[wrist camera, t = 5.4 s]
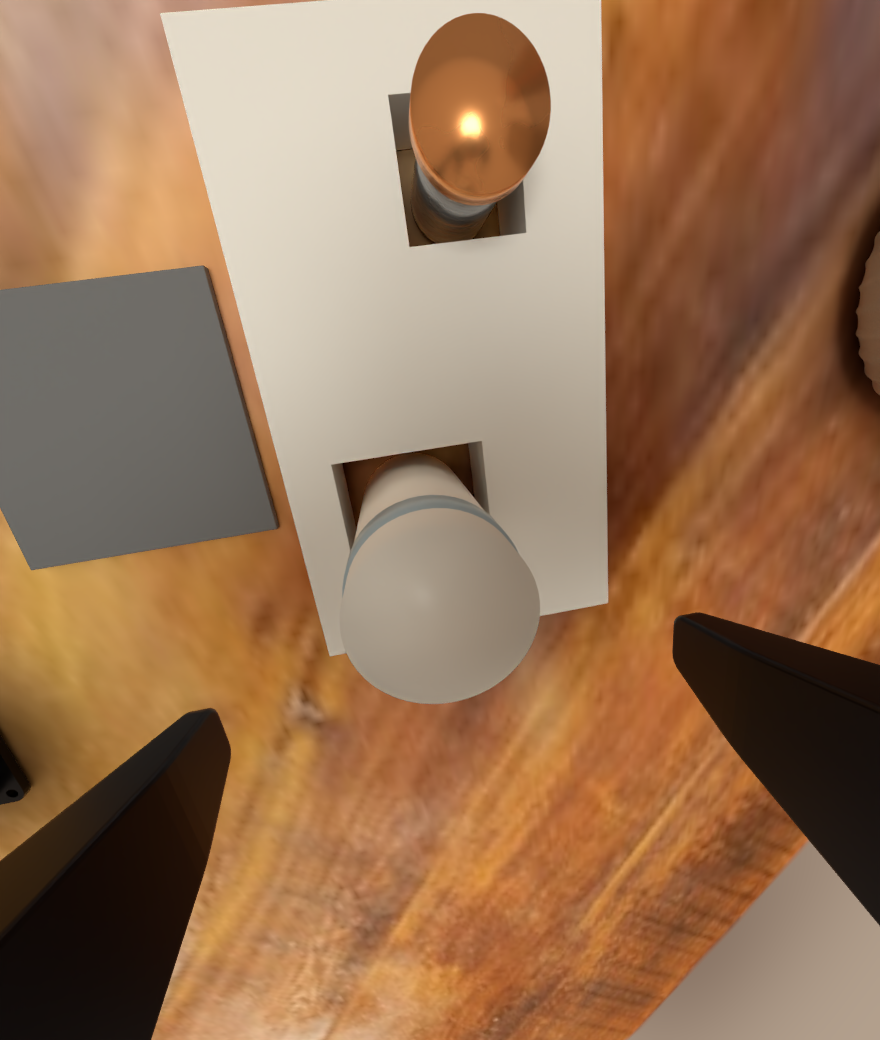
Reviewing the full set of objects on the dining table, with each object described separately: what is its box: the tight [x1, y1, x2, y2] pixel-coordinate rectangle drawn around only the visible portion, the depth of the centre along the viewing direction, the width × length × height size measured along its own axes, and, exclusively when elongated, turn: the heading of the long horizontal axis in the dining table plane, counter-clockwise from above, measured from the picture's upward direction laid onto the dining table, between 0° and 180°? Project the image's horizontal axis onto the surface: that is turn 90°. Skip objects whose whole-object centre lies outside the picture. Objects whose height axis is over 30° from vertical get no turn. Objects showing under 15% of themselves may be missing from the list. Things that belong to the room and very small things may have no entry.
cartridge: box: [340, 453, 540, 704], centre depth 14 cm, size 5×5×10 cm
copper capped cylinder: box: [409, 13, 551, 244], centre depth 12 cm, size 3×3×5 cm
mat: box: [0, 266, 279, 570], centre depth 16 cm, size 10×10×1 cm
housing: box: [160, 0, 608, 656], centre depth 16 cm, size 20×12×3 cm, turn 8°
